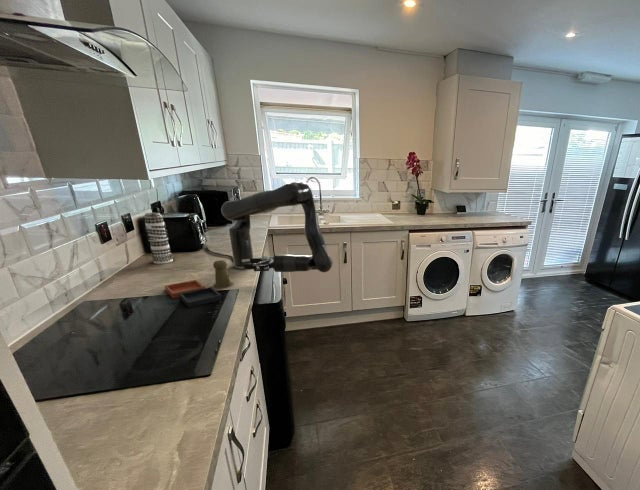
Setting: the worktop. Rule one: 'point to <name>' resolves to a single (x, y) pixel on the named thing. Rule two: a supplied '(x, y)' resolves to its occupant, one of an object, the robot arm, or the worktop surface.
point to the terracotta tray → (183, 288)
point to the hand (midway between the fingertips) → (247, 263)
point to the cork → (221, 274)
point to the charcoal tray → (200, 297)
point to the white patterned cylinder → (158, 238)
